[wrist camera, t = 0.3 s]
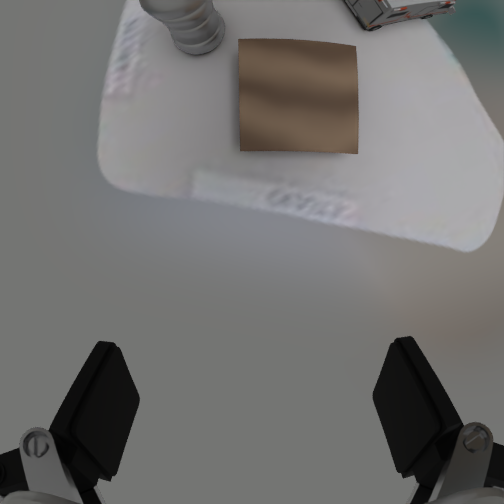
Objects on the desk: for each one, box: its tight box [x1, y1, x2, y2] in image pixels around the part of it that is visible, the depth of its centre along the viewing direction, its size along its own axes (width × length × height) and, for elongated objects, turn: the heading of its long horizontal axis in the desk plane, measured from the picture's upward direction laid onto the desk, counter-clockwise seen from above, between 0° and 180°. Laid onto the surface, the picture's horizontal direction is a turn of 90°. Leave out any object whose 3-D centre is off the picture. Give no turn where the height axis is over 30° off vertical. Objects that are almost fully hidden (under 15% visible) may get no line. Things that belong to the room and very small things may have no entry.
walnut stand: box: [238, 39, 359, 154], centre depth 30 cm, size 13×13×6 cm
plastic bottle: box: [139, 0, 225, 55], centre depth 20 cm, size 6×7×20 cm
